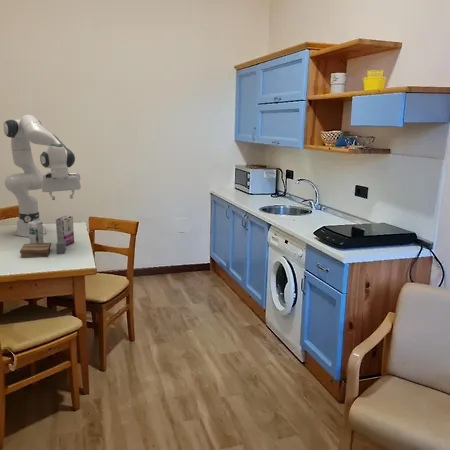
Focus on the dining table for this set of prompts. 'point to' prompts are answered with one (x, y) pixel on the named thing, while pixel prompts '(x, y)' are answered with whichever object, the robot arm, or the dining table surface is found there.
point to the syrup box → (35, 232)
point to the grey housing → (61, 246)
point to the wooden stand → (35, 250)
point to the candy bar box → (65, 229)
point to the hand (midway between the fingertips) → (62, 199)
